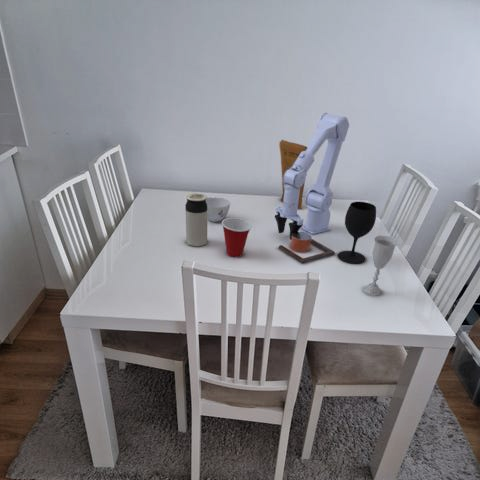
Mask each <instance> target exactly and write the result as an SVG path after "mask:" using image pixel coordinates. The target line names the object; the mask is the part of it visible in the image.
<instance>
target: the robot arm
mask: <svg viewBox="0 0 480 480" xmlns="http://www.w3.org/2000/svg"><path fill="white" fill-rule="evenodd" d="M349 128H350V122H349V119H348V117H346V116H341V115H337V114H331V113H328V112H324V113H322V114H321V115H320V117H319V119H318V121H317V124H316V131H315V132H314V135H313V137H312V139H311V141H310V142H309V144H308V145H307V147H308V148H307V150H306V151H302V152H301V153H300V155H299V157H298V158H297V160H296V161H295V163H294V164H293V166H292V167H291V169H289V170H287V171H286V172H285V173H284V176H283V177H282V176H281V181H282V180H283V183H284V189H285V191H284V200H283V202H282V207H280V206H279V207H275V213H276V214H275V215H274V219H275V221H276V225H277V230H278V231H277V232H278V234H282V233H284V232H285V229H286V224H287V220H290V221H292V222H288V227H289V240H290V241H291V239H292V234H293V233H295V232H300V229H303V230H305V231H306V232H307V233H309V234H312V235H316V234H319V233H323V232H328V231H330V228H329V224H330V220H331V219H330V218H331V211H330V208H331V206H332V203H333V195H334V193H333V191H332V190H331V188H330V184H331V181H332V178H333V174H334V171H335V168H336V164H337V163H338V159H339V155H340V152H341V149H342V146H343V142H345V141H346V137H347V134H348V130H349ZM326 140H327V145H326V149H325V152H324V155H323V159H322V162H321V166H320V169H319V172H318V175H317V179H316V182H315V183H314V184H313V185H310V186H309V188H308V191H307V192H306V194H305V196H304V204H305V205H306V208H307V213H306V219H305V224H304V219H303V218H302V217H301V216H300V215H299V214H298V210H299V209H298V202H299V194H300V187H301V186H302V185H303V184H304V182H305V183H306V179H307V175H308V171H309V170H310V169H311V167H312V165H313V163H314V162H315V155H316V154H317V152H318V151H319V150H320V148H321V147H322V146H323V145H324V143H325V142H326ZM305 178H306V179H305ZM304 185H305V184H304Z"/></svg>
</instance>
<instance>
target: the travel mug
mask: <svg viewBox="0 0 480 480" xmlns="http://www.w3.org/2000/svg"><path fill="white" fill-rule="evenodd" d="M185 198H186V203H185V239H186V240H185V241H186V244H187V245H189V246H192V247H202V246H205V245H207V244H208V218H207V203H206V198H208V197H207V195H206V194H204V193H201V192H200V193H199V192H191V193H188V194H186V196H185Z"/></svg>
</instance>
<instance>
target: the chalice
mask: <svg viewBox="0 0 480 480" xmlns="http://www.w3.org/2000/svg"><path fill="white" fill-rule="evenodd" d="M398 243H399V242H398V240H396V239H395V238H393V237H392V236H388V235H377V236H375V237H374V246H373V250H372V261H373V266H374V268H376V270H375V271H374V276H373V277H372V280H373V281H372V282H370V283H368V284H367V286H366V287H365V288H364V289H363V290H364V292H365V293H366V294H367V295H370V296H379V295H381V291H380V286H379V284H377V282H378V280H379V275H380V271H381V270H383V269H384V268H385V267H386V266H387V265H388V264H389V262H390V261H391V259H393V254H394V251H395V249H396V246H397V245H398Z"/></svg>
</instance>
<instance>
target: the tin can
mask: <svg viewBox="0 0 480 480" xmlns="http://www.w3.org/2000/svg"><path fill="white" fill-rule="evenodd" d="M311 239H313V236H312V235H311V233H309V232H304V231H298V232H295V233H293V234H292V239H291V240H290V250H291V251H293V252H297V253H308V252H310V251H311V246H312V244H311Z"/></svg>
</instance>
